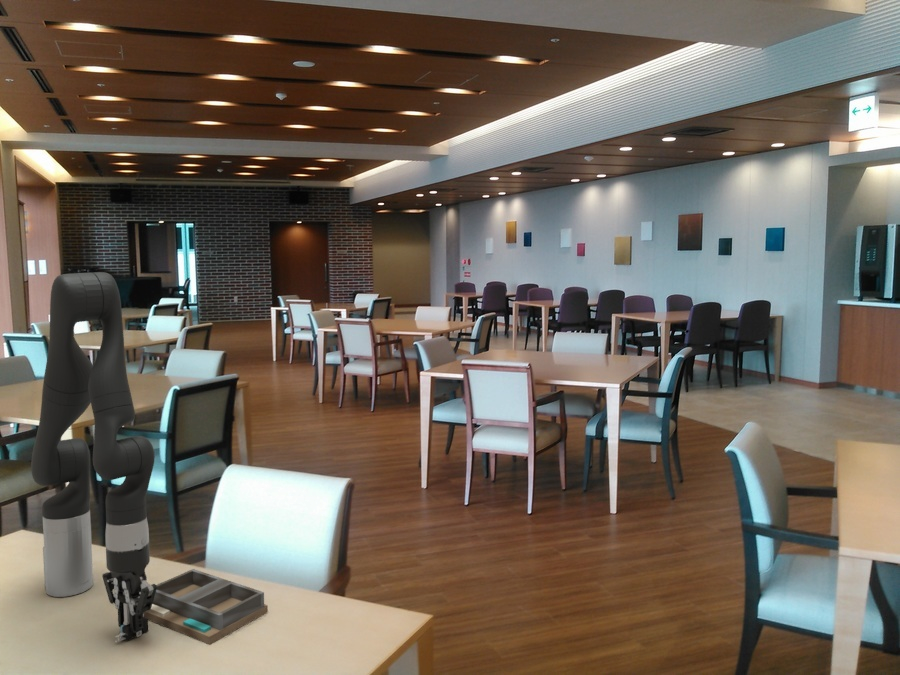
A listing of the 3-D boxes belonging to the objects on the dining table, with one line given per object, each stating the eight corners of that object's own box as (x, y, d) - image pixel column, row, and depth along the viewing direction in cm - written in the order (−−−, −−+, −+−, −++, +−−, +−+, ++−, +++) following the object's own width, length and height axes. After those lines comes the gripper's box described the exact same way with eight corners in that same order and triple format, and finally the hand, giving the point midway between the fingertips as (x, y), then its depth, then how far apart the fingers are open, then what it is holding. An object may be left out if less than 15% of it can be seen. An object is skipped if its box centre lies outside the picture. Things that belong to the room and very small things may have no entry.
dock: (135, 614, 148) (135, 593, 147) (195, 587, 160) (195, 567, 160) (209, 644, 136) (208, 621, 136) (267, 612, 149) (267, 591, 149)
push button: (125, 648, 135) (123, 596, 134) (106, 640, 137) (104, 590, 136) (155, 632, 141) (153, 583, 140) (136, 625, 143) (134, 577, 142)
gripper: (86, 540, 137) (90, 627, 139) (133, 556, 130) (136, 647, 132) (122, 528, 144) (125, 611, 146) (168, 543, 137) (171, 630, 138)
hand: (130, 628), depth 139 cm, fingers closed on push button, 3 cm apart
